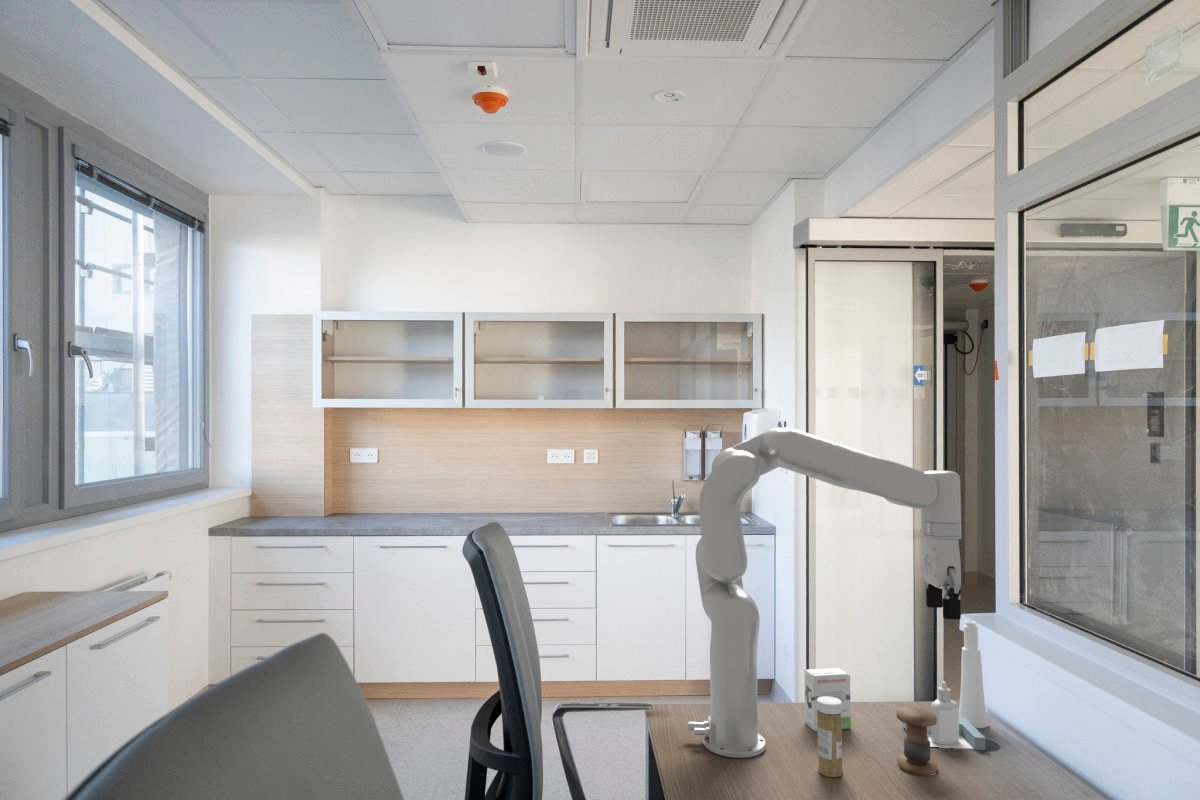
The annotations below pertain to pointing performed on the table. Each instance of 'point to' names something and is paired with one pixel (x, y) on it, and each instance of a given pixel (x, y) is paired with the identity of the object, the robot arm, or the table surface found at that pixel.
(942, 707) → the eye dropper bottle
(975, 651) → the cosmetic bottle
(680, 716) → the table surface
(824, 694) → the ink box
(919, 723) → the spool
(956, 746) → the notched board
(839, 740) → the sprinkles bottle
